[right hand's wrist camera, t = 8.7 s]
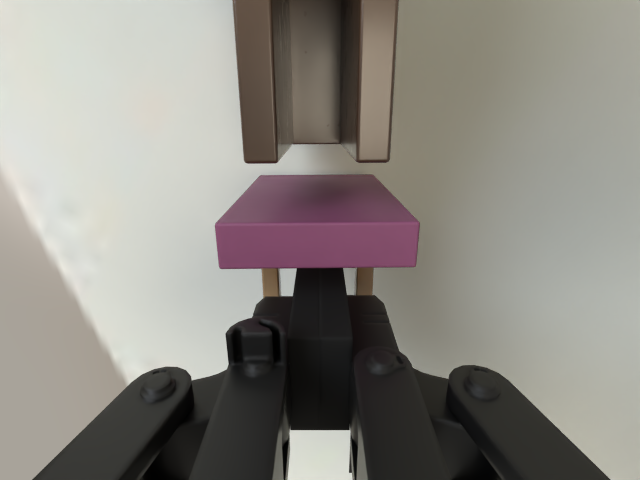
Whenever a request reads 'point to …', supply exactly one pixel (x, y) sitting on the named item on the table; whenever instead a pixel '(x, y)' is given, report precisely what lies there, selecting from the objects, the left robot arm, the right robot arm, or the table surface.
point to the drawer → (316, 140)
